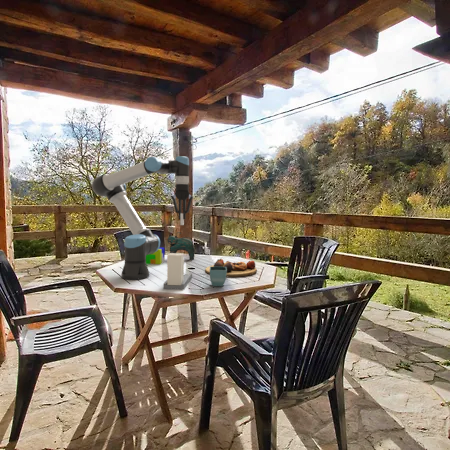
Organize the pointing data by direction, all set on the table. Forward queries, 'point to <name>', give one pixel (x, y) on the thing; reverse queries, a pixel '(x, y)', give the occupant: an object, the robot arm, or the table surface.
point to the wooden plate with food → (235, 268)
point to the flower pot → (218, 275)
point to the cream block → (175, 268)
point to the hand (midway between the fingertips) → (182, 224)
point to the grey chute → (184, 284)
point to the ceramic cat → (181, 245)
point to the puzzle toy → (156, 257)
